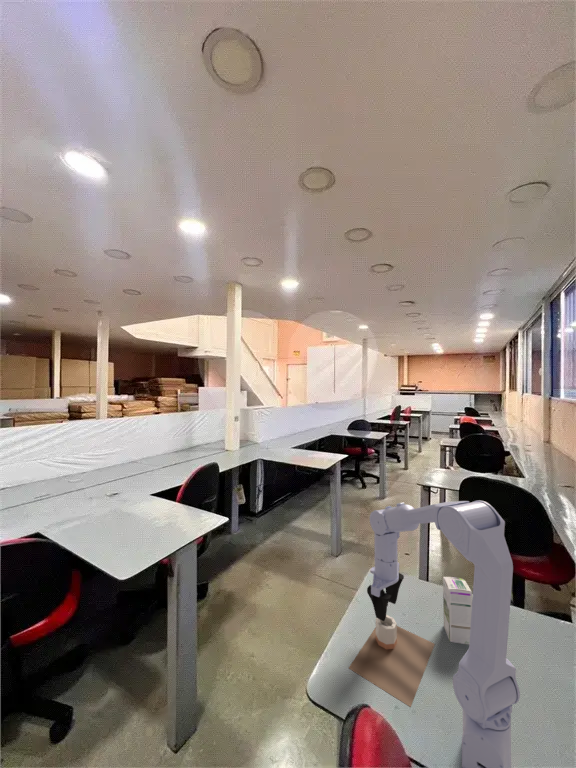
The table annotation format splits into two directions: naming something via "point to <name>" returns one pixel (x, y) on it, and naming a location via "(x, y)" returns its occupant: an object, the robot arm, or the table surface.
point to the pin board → (394, 664)
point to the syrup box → (457, 609)
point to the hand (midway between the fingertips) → (386, 610)
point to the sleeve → (386, 633)
